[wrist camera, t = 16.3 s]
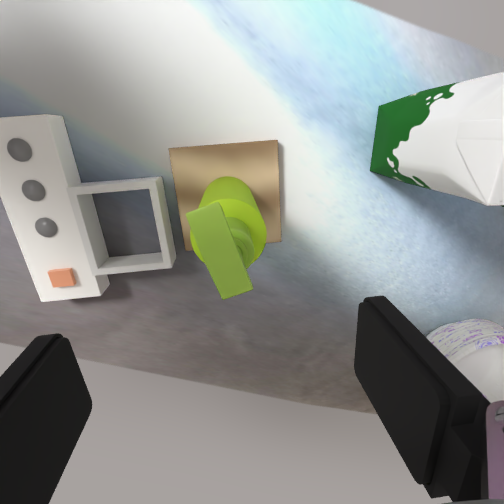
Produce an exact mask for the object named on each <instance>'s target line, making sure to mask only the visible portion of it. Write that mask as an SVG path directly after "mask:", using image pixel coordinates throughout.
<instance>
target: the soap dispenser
mask: <svg viewBox="0 0 504 504" xmlns="http://www.w3.org/2000/svg"><path fill="white" fill-rule="evenodd" d="M186 217H187V220H188V223H189V225H190V228H191V229H190V240H191V244H192V247H193V250H194V252H195V253H196V255H197V256H198V257H199V259H200V260H201V261H202V262H204V263H205V264H206V266H207V268H208V270H209V273H210V275H211V277H212V279H213V281H214V283H215V285H216V287H217V289H218V291H219V293H220V295H221V297H222V299H223V300H224V299H227V298H230V297H233V296H236V295H239V294H242V293H244V292H247V291H250V290H253V285H252V282H251V280H250V277H249V275H248V272H247V270H246V269H247V268H248V267H249V266H250V265H251V264H252V263H253V262H254V261H256V260H257V258H258V257H259V256H260V255H261V253H262V251H263V249H264V247H265V244H266V238H267V232H266V226H265V223H264V220H263V218H262V216H261V213H260V211H259V209H258V207H257V204H256V202H255V200H254V197H253V195H252V193H251V191H250V189H249V187H248V186H247V185H246V184H245V183H244V182H243V181H241V180H240V179H238V178H235V177H230V176H226V177H220V178H218V179H216V180H214V181H213V182H211V183H210V184H209V185H208V187H207V188H206V190H205V192H204V195H203V197H202V200H201V202H200V205H199V207H198V209H196V210H193V211H191V212H188V213H186Z"/></svg>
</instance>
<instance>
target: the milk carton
mask: <svg viewBox="0 0 504 504" xmlns="http://www.w3.org/2000/svg"><path fill="white" fill-rule="evenodd" d="M370 171H372V172H375V173H378V174H381V175H384V176H387V177H390V178H393V179H396V180H399V181H402V182H405V183H409V184H412V185H416V186H420V187H424V188H428V189H432V190H435V191H439V192H443V193H447V194H451V195H455V196H459V197H463V198H466V199H470V200H472V201H475V202H478V203H481V204H483V205H486V206H499V205H501V206H503V207H504V72H502V73H497V74H493V75H488V76H484V77H480V78H475V79H471V80H467V81H462V82H458V83H454V84H450V85H445V86H441V87H437V88H433V89H428V90H424V91H421V92H418V93H415V94H412V95H409V96H407V97H404V98H401V99H398V100H395V101H392V102H389V103H387V104H384V105H381V106H379V109H378V116H377V123H376V131H375V138H374V145H373V152H372V159H371V167H370Z"/></svg>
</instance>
